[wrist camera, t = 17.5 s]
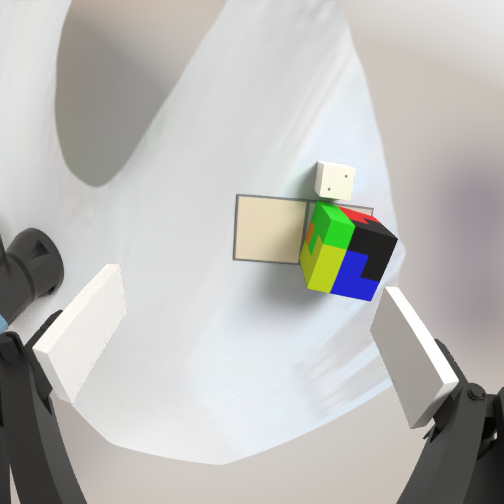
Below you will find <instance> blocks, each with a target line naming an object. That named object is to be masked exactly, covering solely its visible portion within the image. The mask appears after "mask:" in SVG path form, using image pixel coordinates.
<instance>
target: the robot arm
mask: <svg viewBox="0 0 504 504" xmlns="http://www.w3.org/2000/svg"><path fill="white" fill-rule="evenodd" d="M63 278H64V268H63V263H62V259H61V256H60V254H59V252H58V250H57V248H56V246H55V244H54V243H53V242H52V240H51V239H50V238H49V237H48V236H47V235H46V234H45V233H43V232H42V231H40V230H38V229H34V228H28V229H26V230H24V231H22V232H21V233H19V234H18V235H17V236H16V237H15V238H14V240H13V241H12V243H11V244H10V245H9V247H8V248H7V250H6V251H5V250H4V247H3V243H2V239H1V235H0V504H11V495H10V466H11V470H12V474H13V479H14V482H15V486H16V490H17V494H18V497H19V500H20V504H87V502H86V500H85V498H84V495H83V493H82V491H81V489H80V486H79V484H78V482H77V479H76V477H75V474H74V472H73V469H72V466H71V464H70V461H69V458H68V455H67V453H66V449H65V446H64V443H63V440H62V437H61V434H60V431H59V427H58V423H57V419H56V416H55V412H54V408H53V404H52V400H51V398H50V396H49V394H50V392H51V391H52V389H53V390H54V392H55V394H56V396H57V398H58V399H61V400H64V401H67V402H69V403H72V404H73V402H74V400H75V398H76V396H77V395H78V393H79V391H80V389H81V387H82V386H83V384H84V382H85V380H86V378H87V377H88V375H89V373H90V371H91V370H92V368H93V366H94V364H95V363H96V361H97V359H98V358H99V356H100V354H101V353H102V351H103V349H104V348H105V346H106V344H107V343H108V341H109V339H110V338H111V336H112V334H113V333H114V331H115V330H116V328H117V326H118V325H119V323H120V322H121V320H122V318H123V317H124V315H125V314H126V312H127V306H126V300H125V294H124V288H123V282H122V275H121V267H120V265H115V264H106V265H105V266H104V267H103V268H102V270H101V271H100V272H99V273H98V274H97V275H96V276H95V277H94V278H93V279H92V280H91V281H90V282H89V283H88V284H87V285H86V286H85V287H84V288H83V290H82V291H81V292H80V293H79V294H78V295H77V296H76V297H75V298H74V299H73V300H72V302H71V303H70V304H69V305H68V306H67V307H66V308H65V309H64V311H63V310H59V311H57V312H55V313H54V314H52V315H51V316H50V317H49V318H48V319H47V320H46V321H45V324H43V325H42V326H41V327H40V329H39V330H37V332H36V333H35V334H34V335H33V336H32V338H31V339H30V340H29V341H28V342H27V344H26V345H25V346H23V344H22V341H21V339H20V337H19V335H18V334H17V333H16V332H12V331H8V332H4V331H5V330H7V329H8V327H9V326H10V325H11V324H12V323H13V321H14V320H15V319H16V318H17V317H18V316H19V315H20V314H21V313H22V312H23V311H24V310H25V309H26V308H27V307H28V306H29V305H30V304H31V303H32V302H33V301H34V300H37V299H40V298H43V297H45V296H48V295H51V294H52V293H54V292H55V291H56V290H57V289H58V288H59V287H60V286H61V284H62V282H63ZM370 331H371V334H372V336H373V338H374V340H375V342H376V345H377V347H378V349H379V351H380V354H381V356H382V358H383V361H384V363H385V365H386V368H387V370H388V372H389V375H390V377H391V380H392V382H393V385H394V387H395V389H396V392H397V394H398V397H399V399H400V402H401V405H402V407H403V410H404V412H405V415H406V418H407V420H408V423H409V426H410V429H414V428H419V427H424V426H426V425H427V424H428V422H429V421H430V420H431V419H432V418H433V419H434V421H435V424H434V426H433V427H432V428H431V429H430V430H429V431H428V433H427V434H426V435H425V436H424V438H423V439H426V438H427V437H428V439H427V442H426V444H425V446H424V449H423V451H422V453H421V455H420V458H419V460H418V462H417V465H416V466H415V469H414V471H413V473H412V475H411V477H410V479H409V481H408V483H407V485H406V487H405V489H404V490H403V493H402V494H401V496H400V498H399V500H398V501H397V503H396V504H462V503H463V504H504V387H502V388H501V390H500V391H499V392H498V394H497V395H494V394H486V392H485V390H484V389H483V388H482V387H481V386H479V385H478V384H475V383H468V381H467V380H466V378H465V376H464V375H463V373H462V371H461V370H460V368H459V367H458V365H457V363H456V362H454V358H453V357H452V355H450V352H449V351H448V349H447V348H446V346H445V345H444V344H443V343H441V342H440V341H439V340H438V339H433V338H432V336H431V335H430V333H429V332H428V330H427V329H426V327H425V326H424V324H423V323H422V321H421V320H420V319H419V317H418V315H417V314H416V313H415V311H414V310H413V308H412V307H411V305H410V304H409V302H408V301H407V300H406V298H405V297H404V295H403V294H402V293H401V291H400V290H399V289H398V287H384V291H383V294H382V297H381V300H380V303H379V306H378V309H377V312H376V315H375V318H374V320H373V323H372V326H371V329H370ZM3 332H4V333H3ZM496 432H497V438H496V439H494V434H495V433H496Z"/></svg>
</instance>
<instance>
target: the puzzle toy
mask: <svg viewBox="0 0 504 504" xmlns="http://www.w3.org/2000/svg"><path fill="white" fill-rule="evenodd" d="M397 240H398V238H396V237H395V236H394V235H393V234H392V233H391V232H390V231H389V230H388V229H387V228H386V227H384V226H383V225H382V224H381V223H380V222H379V221H378V220H377V219H376V218H374V217H373V216H370V215H367V214H363V213H360V212H357V211H353V210H350V209H347V208H343V207H340V206H337V205H333V204H330V203H326V202H322V201H319V200H317V202H316V206H315V209H314V212H313V215H312V219H311V222H310V225H309V228H308V231H307V234H306V238H305V241H304V244H303V247H302V250H301V253H300V256H299V259H300V263H301V267H302V270H303V274H304V278H305V282H306V286H307V289H312V290H317V291H321V292H326V293H331V294H336V295H341V296H346V297H351V298H356V299H361V300H366V301H371V300H372V298H373V295H374V293H375V291H376V289H377V287H378V285H379V283H380V280H381V278H382V276H383V274H384V271H385V269H386V267H387V264H388V262H389V260H390V257H391V255H392V253H393V250H394V248H395V245H396V243H397Z"/></svg>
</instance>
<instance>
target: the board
mask: <svg viewBox="0 0 504 504" xmlns="http://www.w3.org/2000/svg"><path fill="white" fill-rule="evenodd" d="M316 202H317V201H311V200H301V199H291V198H281V197H269V196H257V195H244V194H237V205H236V222H235V240H234V260H246V261H259V262H271V263H284V264H297V265H301V263H300V259H299V256H300V253H301V250H302V247H303V244H304V241H305V238H306V234H307V231H308V228H309V225H310V222H311V219H312V215H313V212H314V209H315V206H316ZM326 203H329V202H326ZM330 204H333V205H337V206H340V207H343V208H347V209H350V210H353V211H357V212H360V213H363V214H367V215H370V216H372V214H373V209H374V208H369V207H361V206H354V205H346V204H338V203H330Z"/></svg>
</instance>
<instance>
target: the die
mask: <svg viewBox="0 0 504 504" xmlns="http://www.w3.org/2000/svg"><path fill="white" fill-rule="evenodd" d="M354 175H355V169H354V168H352V167H350V166H348V165H343V164H337V163H330V162H323V161H318V165H317V173H316V180H315V188H314V190H315V192H316V193H317V194H318V195H319V196H320V197H327V198H335V199H343V200H351V194H352V188H353V182H354Z"/></svg>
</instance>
